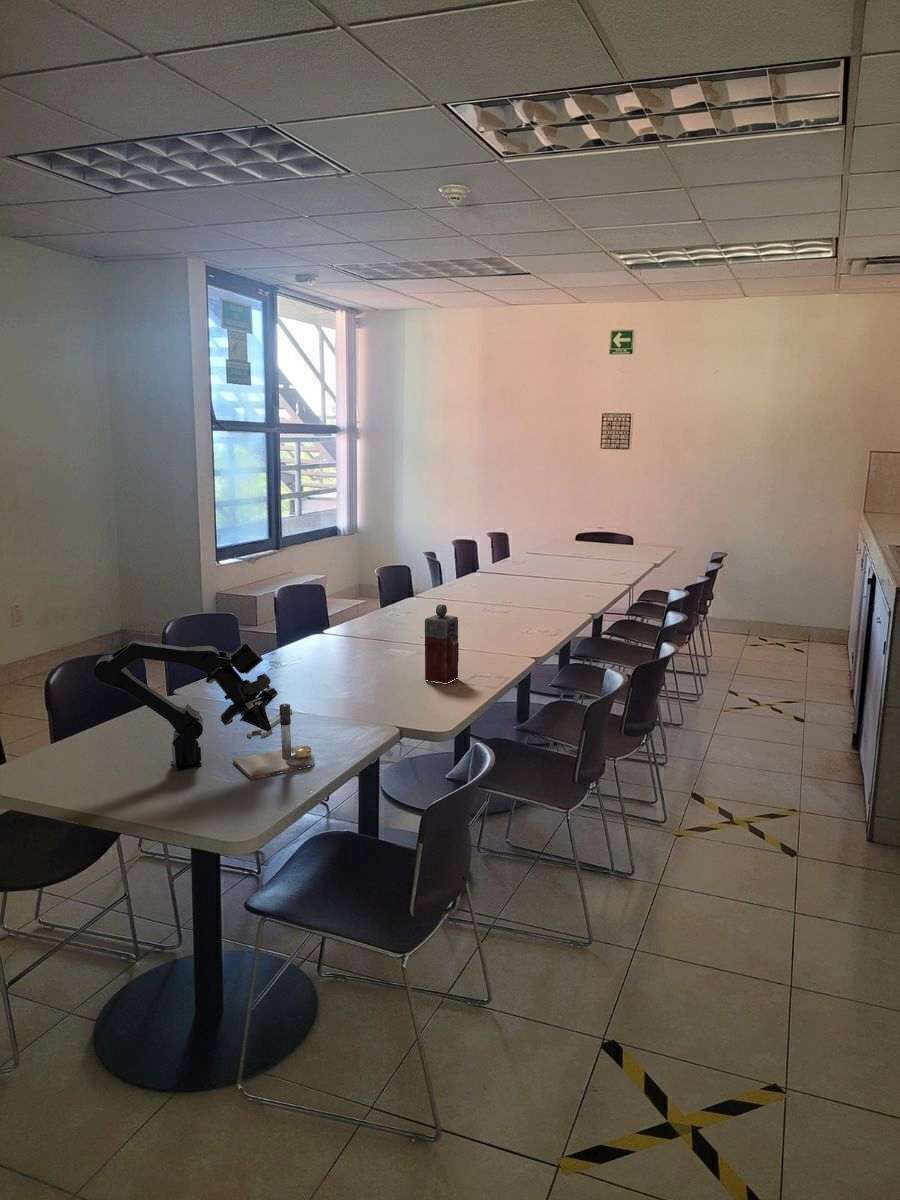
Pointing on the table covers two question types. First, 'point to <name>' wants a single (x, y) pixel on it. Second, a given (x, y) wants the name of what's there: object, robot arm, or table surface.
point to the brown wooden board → (270, 764)
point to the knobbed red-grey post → (441, 646)
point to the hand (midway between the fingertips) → (269, 730)
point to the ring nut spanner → (287, 750)
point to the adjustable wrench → (263, 732)
